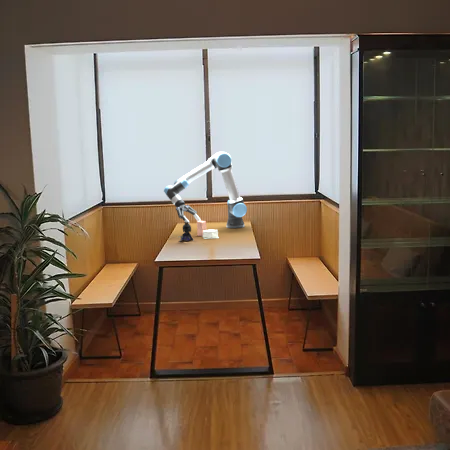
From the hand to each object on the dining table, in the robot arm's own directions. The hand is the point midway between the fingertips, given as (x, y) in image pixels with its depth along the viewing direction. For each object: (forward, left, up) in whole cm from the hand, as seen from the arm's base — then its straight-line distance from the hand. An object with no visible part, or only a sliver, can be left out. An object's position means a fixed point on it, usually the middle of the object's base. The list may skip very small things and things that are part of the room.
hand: (194, 222), depth 415 cm
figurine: (+8, +19, -11) cm, 24 cm away
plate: (-10, +15, -11) cm, 21 cm away
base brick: (-10, +15, -10) cm, 21 cm away
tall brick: (-5, +4, -11) cm, 13 cm away
